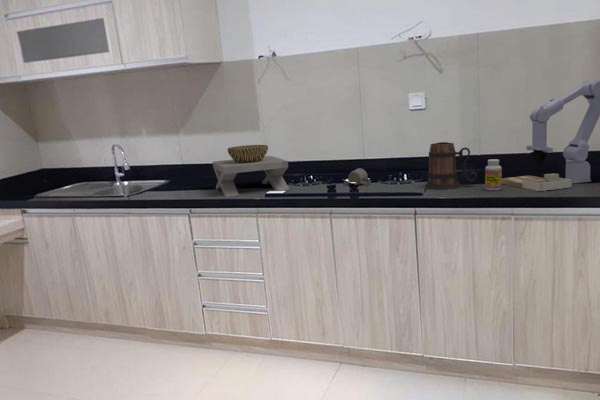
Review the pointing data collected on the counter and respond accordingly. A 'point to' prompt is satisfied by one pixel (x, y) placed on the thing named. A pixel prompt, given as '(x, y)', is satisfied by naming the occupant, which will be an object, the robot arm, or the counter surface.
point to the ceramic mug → (359, 177)
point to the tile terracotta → (539, 180)
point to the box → (547, 185)
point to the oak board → (518, 180)
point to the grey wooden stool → (249, 168)
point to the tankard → (445, 167)
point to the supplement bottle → (493, 175)
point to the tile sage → (551, 177)
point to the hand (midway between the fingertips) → (538, 167)
